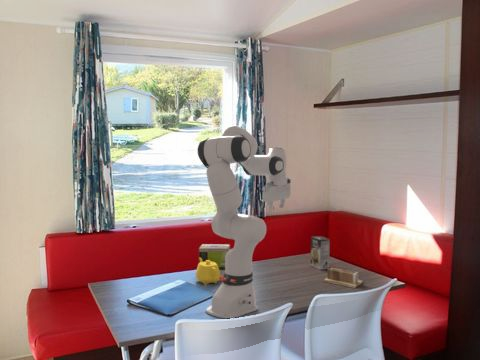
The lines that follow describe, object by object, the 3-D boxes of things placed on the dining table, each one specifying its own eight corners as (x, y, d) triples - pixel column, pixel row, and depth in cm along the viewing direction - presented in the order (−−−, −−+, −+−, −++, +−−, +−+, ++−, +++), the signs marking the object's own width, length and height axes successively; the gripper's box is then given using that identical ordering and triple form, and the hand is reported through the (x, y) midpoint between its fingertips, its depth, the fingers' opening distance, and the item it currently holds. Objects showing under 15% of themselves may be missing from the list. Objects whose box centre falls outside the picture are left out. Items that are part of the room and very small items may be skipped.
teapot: (189, 278, 237) (189, 257, 236) (209, 275, 242) (209, 254, 241) (205, 288, 221) (205, 266, 220) (226, 285, 227) (226, 263, 226)
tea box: (230, 271, 249) (230, 243, 247) (228, 277, 239) (228, 248, 237) (202, 270, 250) (202, 243, 249) (198, 276, 240) (198, 247, 239)
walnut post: (327, 278, 233) (354, 283, 225) (327, 269, 233) (354, 274, 225) (331, 276, 237) (358, 281, 229) (331, 267, 236) (358, 272, 228)
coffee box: (309, 265, 260) (310, 236, 258) (319, 264, 262) (320, 235, 261) (319, 269, 251) (320, 240, 250) (329, 268, 254) (330, 238, 253)
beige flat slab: (354, 287, 222) (354, 285, 222) (323, 281, 232) (323, 279, 232) (362, 282, 230) (362, 280, 230) (332, 276, 240) (332, 274, 240)
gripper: (271, 183, 221) (270, 212, 222) (292, 179, 237) (292, 207, 239) (259, 182, 224) (259, 211, 226) (281, 178, 241) (281, 205, 242)
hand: (276, 209), depth 232 cm, fingers open, 8 cm apart
